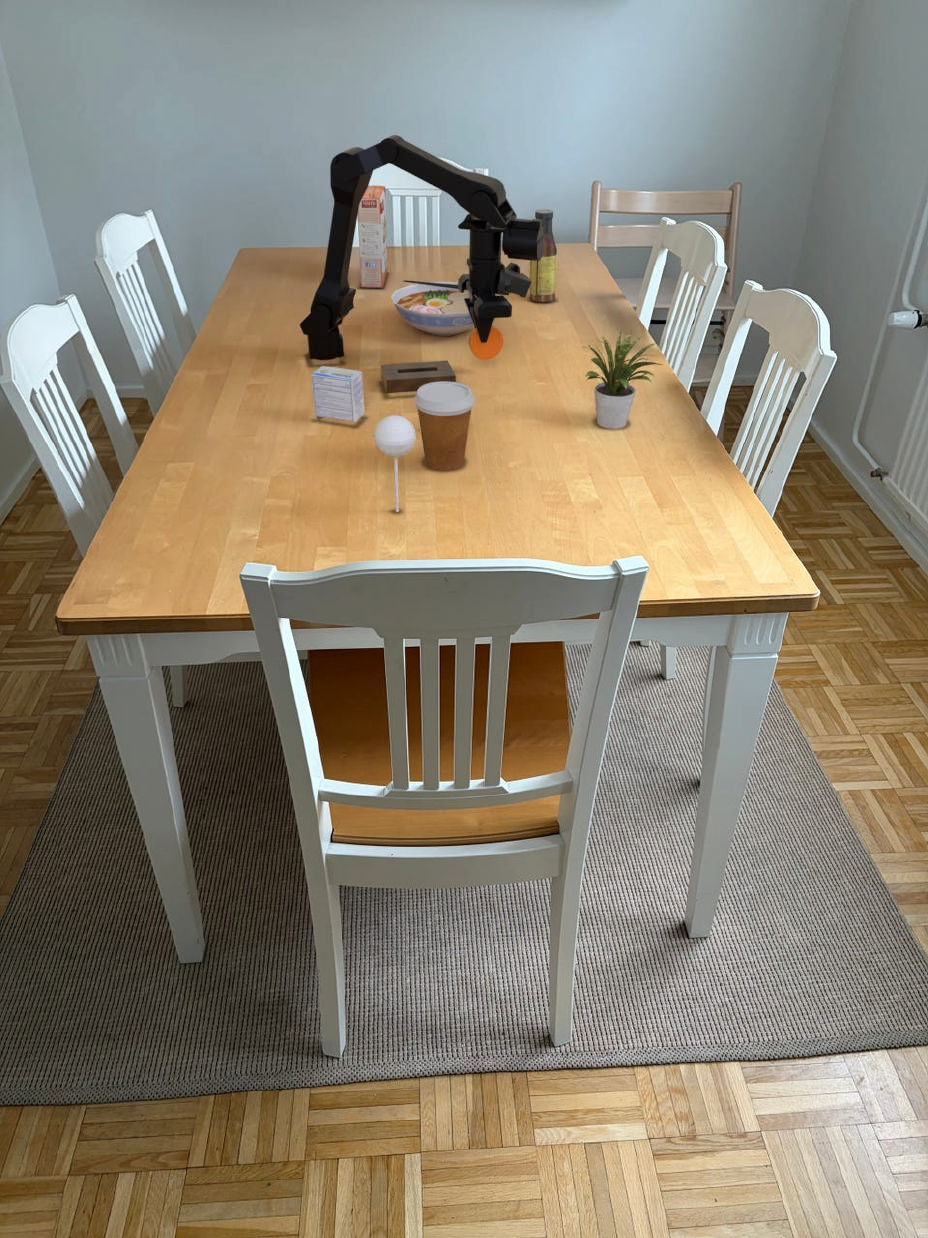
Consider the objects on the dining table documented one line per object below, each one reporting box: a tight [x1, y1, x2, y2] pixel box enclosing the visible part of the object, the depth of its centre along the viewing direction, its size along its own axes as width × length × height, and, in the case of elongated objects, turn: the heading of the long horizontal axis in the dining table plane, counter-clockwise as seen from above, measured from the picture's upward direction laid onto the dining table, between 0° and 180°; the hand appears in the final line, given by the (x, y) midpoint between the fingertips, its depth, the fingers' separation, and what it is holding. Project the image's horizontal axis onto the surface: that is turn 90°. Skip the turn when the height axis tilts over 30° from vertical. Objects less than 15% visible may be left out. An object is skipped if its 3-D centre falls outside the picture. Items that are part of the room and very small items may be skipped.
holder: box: [380, 360, 457, 394], centre depth 180 cm, size 13×8×4 cm, turn 102°
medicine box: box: [310, 365, 366, 423], centre depth 166 cm, size 8×4×9 cm, turn 71°
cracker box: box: [357, 185, 388, 289], centre depth 231 cm, size 14×6×21 cm, turn 179°
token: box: [468, 324, 504, 361], centre depth 181 cm, size 6×1×6 cm, turn 102°
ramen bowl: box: [390, 279, 512, 337], centre depth 205 cm, size 25×23×8 cm
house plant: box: [583, 329, 664, 430], centre depth 163 cm, size 14×14×16 cm
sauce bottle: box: [528, 208, 558, 304], centre depth 221 cm, size 7×6×20 cm
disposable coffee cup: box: [413, 381, 476, 471], centre depth 152 cm, size 10×10×12 cm
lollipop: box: [373, 414, 417, 513], centre depth 137 cm, size 6×6×15 cm
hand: (482, 340), depth 180 cm, fingers closed on token, 1 cm apart
